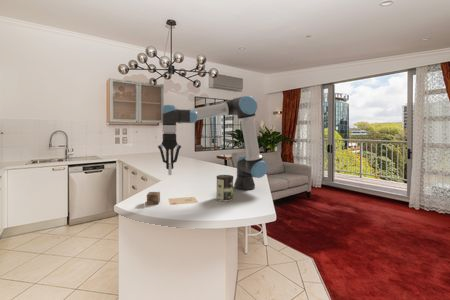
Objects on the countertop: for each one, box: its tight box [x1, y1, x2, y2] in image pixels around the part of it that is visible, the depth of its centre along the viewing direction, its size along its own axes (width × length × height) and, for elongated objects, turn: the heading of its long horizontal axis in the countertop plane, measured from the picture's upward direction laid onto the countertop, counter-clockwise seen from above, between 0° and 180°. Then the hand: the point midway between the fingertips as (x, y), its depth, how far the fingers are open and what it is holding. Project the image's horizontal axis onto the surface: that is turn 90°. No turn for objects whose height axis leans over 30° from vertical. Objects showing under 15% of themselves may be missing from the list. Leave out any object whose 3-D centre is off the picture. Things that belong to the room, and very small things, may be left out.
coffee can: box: [215, 174, 234, 202], centre depth 143 cm, size 10×10×14 cm
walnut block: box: [146, 191, 161, 206], centre depth 132 cm, size 6×6×6 cm
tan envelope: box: [168, 196, 199, 206], centre depth 138 cm, size 16×12×1 cm
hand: (169, 174), depth 134 cm, fingers closed
